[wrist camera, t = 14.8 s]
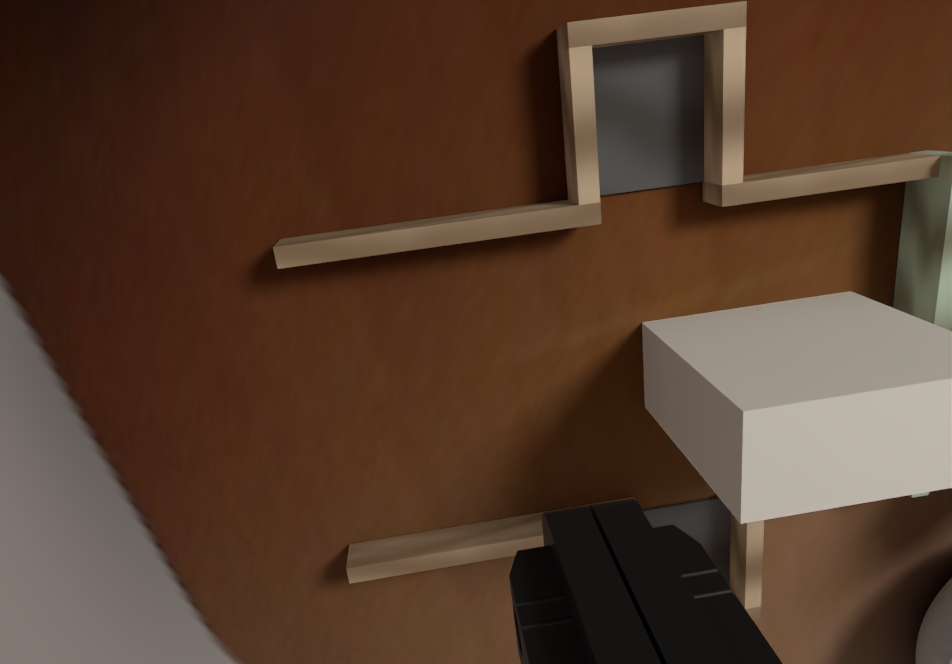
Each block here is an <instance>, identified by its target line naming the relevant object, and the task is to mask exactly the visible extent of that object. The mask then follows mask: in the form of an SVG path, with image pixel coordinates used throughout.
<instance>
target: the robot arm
mask: <svg viewBox="0 0 952 664" xmlns="http://www.w3.org/2000/svg"><path fill="white" fill-rule="evenodd" d="M542 529H543V539H544V546H542V547H536V548H530V549H524V550H518V551H517V553H516V556H515V559H514V562H513V566H512V569H511V572H510V575H509V577H510V585H511V594H512V602H513V610H514V619H515V627H516V635H517V644H518V651H519V656H520V661H521V664H782V662H781V661H780V659H779V658H778V656H777V655H776V654H775V652H774V651H773V649H772V648H771V646H770V645H769V643H768V642H767V640H766V639H765V637H764V636H763V635H762V633H761V632H760V630H759V629H758V627H757V626H756V624H755V623H754V621H753V620H752V618H751V617H750V616H749V614H748V613H747V611H746V610H745V608H744V607H743V605H742V604H741V602H740V601H739V599H738V598H737V597H736V595H735V594H732V592H731V588H730V586H729V585H728V583H727V582H726V580H725V579H724V578H723V576H722V575H721V573H718V571H717V567H716V566H715V564H714V563H713V561H712V560H711V559H710V557H709V556H708V554H707V553H706V551H705V550H704V548H703V547H702V545H701V544H700V543H699V542H698V541H696V540H695V539H693V538H692V537H690V536H689V535H688V534H686V533H685V532H683V531H682V530H680V529H679V528H677V527H676V526H675V525H667V526H661V527H655V528H652V526H651V524H650V523H649V521H648V519H647V518H646V516H645V514H644V513H643V511H642V509H641V507H640V506H639V504H638V503H637V501H636V500H635V499H634V498H630V499H624V500H618V501H612V502H606V503H600V504H593V505H589V506H588V507H587V506H582V507H576V508H570V509H564V510H558V511H552V512H546V513H542Z"/></svg>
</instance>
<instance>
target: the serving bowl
mask: <svg viewBox="0 0 952 664" xmlns="http://www.w3.org/2000/svg"><path fill="white" fill-rule="evenodd" d="M915 659H916V664H952V578H951V579H950V580H949V581H948V582H947V583H946V584H945V585H944V587H943V588H942V589H941V590H940V592H939V593H938V594H937V596H936V597H935V598H934V600H933V602H932V603H931V605H930V607H929V608H928V610H927V612H926V614H925V617H924V619H923V622H922V624H921V627H920V631H919V634H918V639H917V644H916V658H915Z"/></svg>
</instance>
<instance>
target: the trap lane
mask: <svg viewBox="0 0 952 664" xmlns="http://www.w3.org/2000/svg"><path fill="white" fill-rule="evenodd" d="M746 6H747V1H743V2H734V3H726V4H718V5H709V6H701V7H692V8H684V9H676V10H667V11H659V12H651V13H642V14H634V15H625V16H617V17H609V18H600V19H592V20H584V21H575V22H567V23H565V24H564V25H562V26H560V27H558V28H556V33H557V47H558V61H559V76H560V90H561V104H562V119H563V133H564V147H565V161H566V176H567V190H568V200H561V201H553V202H546V203H539V204H531V205H524V206H517V207H510V208H502V209H495V210H488V211H480V212H473V213H466V214H458V215H451V216H444V217H436V218H429V219H422V220H414V221H407V222H400V223H392V224H385V225H378V226H371V227H363V228H356V229H349V230H341V231H334V232H327V233H319V234H312V235H305V236H297V237H290V238H283V239H280V240H279V241H278V242H277V243H276V244H275V245H274V246H273V251H274V255H275V260H276V264H277V268H278V269H281V268H288V267H296V266H303V265H310V264H317V263H324V262H331V261H339V260H346V259H353V258H360V257H367V256H374V255H382V254H389V253H396V252H403V251H410V250H417V249H425V248H432V247H439V246H446V245H453V244H460V243H468V242H475V241H482V240H489V239H496V238H503V237H511V236H518V235H525V234H532V233H539V232H546V231H554V230H561V229H568V228H575V227H582V226H589V225H597V224H601V206H600V196H601V195H609V194H616V193H623V192H630V191H638V190H645V189H652V188H660V187H667V186H674V185H682V184H689V183H696V182H703V202H707V203H710V204H714V205H717V206H720V207H726V206H733V205H740V204H747V203H754V202H761V201H769V200H776V199H783V198H790V197H797V196H804V195H812V194H819V193H826V192H833V191H840V190H847V189H855V188H862V187H869V186H876V185H883V184H890V183H898V182H905V181H906V185H905V195H904V204H903V214H902V224H901V233H900V243H899V252H898V262H897V272H896V281H895V291H894V301H893V308H894V309H897V310H900V311H902V312H905V313H907V314H910V315H912V316H915V317H917V318H920V319H922V320H925V321H927V322H930V323H932V324H935V325H937V326H940V327H942V328H945V329H947V330H950V331H951V329H952V152H944V151H930V150H926V151H919V152H912V153H904V154H897V155H890V156H883V157H875V158H868V159H861V160H853V161H846V162H839V163H831V164H824V165H817V166H809V167H802V168H795V169H787V170H780V171H773V172H765V173H758V174H751V175H744V176H743V153H744V104H745V55H746ZM925 495H929V492H925V493H919V494H913V495H909V496H910V497H911V498H914V497H920V496H925ZM630 498H634V497H629V498H623V499H617V500H611V501H605V502H599V503H593V504H600V503H606V502H612V501H618V500H624V499H630ZM634 499H635V498H634ZM635 500H636V499H635ZM593 504H587V505H581V506H575V507H569V508H563V509H557V510H551V511H545V512H539V513H533V514H527V515H521V516H515V517H509V518H503V519H497V520H491V521H485V522H479V523H473V524H467V525H461V526H455V527H449V528H443V529H437V530H431V531H425V532H419V533H413V534H407V535H401V536H395V537H389V538H383V539H377V540H371V541H365V542H359V543H353V544H349V550H348V558H347V566H346V570H347V575H348V579H349V583H356V582H362V581H368V580H374V579H380V578H386V577H391V576H397V575H403V574H409V573H415V572H421V571H427V570H432V569H438V568H444V567H450V566H456V565H462V564H468V563H474V562H479V561H485V560H491V559H497V558H503V557H509V556H515V555H516V553H517V551H518V550H524V549H530V548H536V547H542V546H544V539H543V529H542V513H546V512H552V511H558V510H564V509H570V508H576V507H582V506H587V507H588V506H589V505H593ZM642 511H643V513H644V514H645V516H646V518H647V519H648V521H649V523H650V524H651V526H652V528H655V527H661V526H667V525H675V526H676V527H677V528H679V529H680V530H682V531H683V532H685V533H686V534H688V535H689V536H690V537H692V538H693V539H695V540H696V541H698V542H699V543H700V544H701V545H702V547H703V548H704V550H705V551H706V553H707V554H708V556H709V557H710V559H711V560H712V561H713V563H714V564H715V566H716V567H717V571H718V573H721V575H722V576H723V578H724V579H725V580H726V582H727V583H728V585H729V586H730V588H731V592H732V594H735V595H736V597H737V598H738V599H739V601H740V602H741V604H742V605H743V607H744V608H745V610H746V611H747V613H748V614H749V616H750V617H751V618H752V620H753V621H754V620H760V617H761V590H762V564H763V537H764V520H761V521H755V522H749V523H743V524H740V523H739V521H738V520H737V519H736V518H735V516H734V515H733V514H732V513H731V512H730V510H729V509H728V508H727V507H726V505H725V504H724V503H723V502H722V501H721V499H720V498H719V497H716V498H710V499H704V500H698V501H692V502H686V503H680V504H674V505H668V506H662V507H656V508H650V509H644V510H642Z"/></svg>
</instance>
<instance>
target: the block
mask: <svg viewBox="0 0 952 664" xmlns="http://www.w3.org/2000/svg"><path fill="white" fill-rule="evenodd" d="M642 341H643V371H644V401H645V408H646V409H647V410H648V412H649V413H650V414H651V415H652V416H653V418H654V419H655V420H656V421H657V423H658V424H659V425H660V426H661V427H662V429H663V430H664V431H665V432H666V434H667V435H668V436H669V437H670V438H671V440H672V441H673V442H674V443H675V444H676V446H677V447H678V448H679V449H680V451H681V452H682V453H683V454H684V455H685V457H686V458H687V459H688V460H689V462H690V463H691V464H692V465H693V466H694V468H695V469H696V470H697V471H698V473H699V474H700V475H701V476H702V477H703V479H704V480H705V481H706V482H707V484H708V485H709V486H710V487H711V488H712V490H713V491H714V492H715V493H716V494H717V496H718V497H719V498H720V499H721V501H722V502H723V503H724V504H725V505H726V507H727V508H728V509H729V510H730V512H731V513H732V514H733V515H734V516H735V518H736V519H737V520H738V521H739V523H740V524H743V523H749V522H755V521H761V520H767V519H773V518H778V517H784V516H790V515H796V514H802V513H808V512H814V511H819V510H825V509H831V508H837V507H843V506H849V505H855V504H860V503H866V502H872V501H878V500H884V499H890V498H896V497H901V496H907V495H913V494H919V493H925V492H931V491H937V490H942V489H948V488H952V331H950V330H947V329H945V328H942V327H940V326H937V325H935V324H932V323H930V322H927V321H925V320H922V319H920V318H917V317H915V316H912V315H910V314H907V313H905V312H902V311H900V310H897V309H894V308H892V307H889V306H887V305H884V304H882V303H879V302H877V301H874V300H872V299H869V298H867V297H864V296H862V295H859V294H857V293H854V292H852V291H849V292H842V293H836V294H829V295H822V296H816V297H809V298H802V299H796V300H789V301H782V302H776V303H769V304H762V305H755V306H749V307H742V308H735V309H729V310H722V311H715V312H709V313H702V314H695V315H688V316H682V317H675V318H668V319H662V320H655V321H648V322H642Z"/></svg>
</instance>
